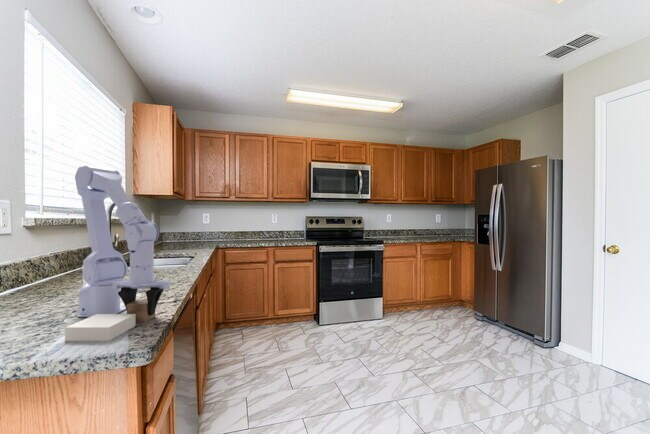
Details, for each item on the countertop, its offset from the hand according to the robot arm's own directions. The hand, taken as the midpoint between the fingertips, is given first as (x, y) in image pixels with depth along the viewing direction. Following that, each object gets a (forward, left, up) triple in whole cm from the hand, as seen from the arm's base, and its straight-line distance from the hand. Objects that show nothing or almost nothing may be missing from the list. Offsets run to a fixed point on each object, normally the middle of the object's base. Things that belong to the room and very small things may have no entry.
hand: (141, 314), depth 84 cm
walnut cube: (0, 0, -1) cm, 1 cm away
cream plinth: (-4, -10, -2) cm, 11 cm away
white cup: (-39, +36, -2) cm, 53 cm away
